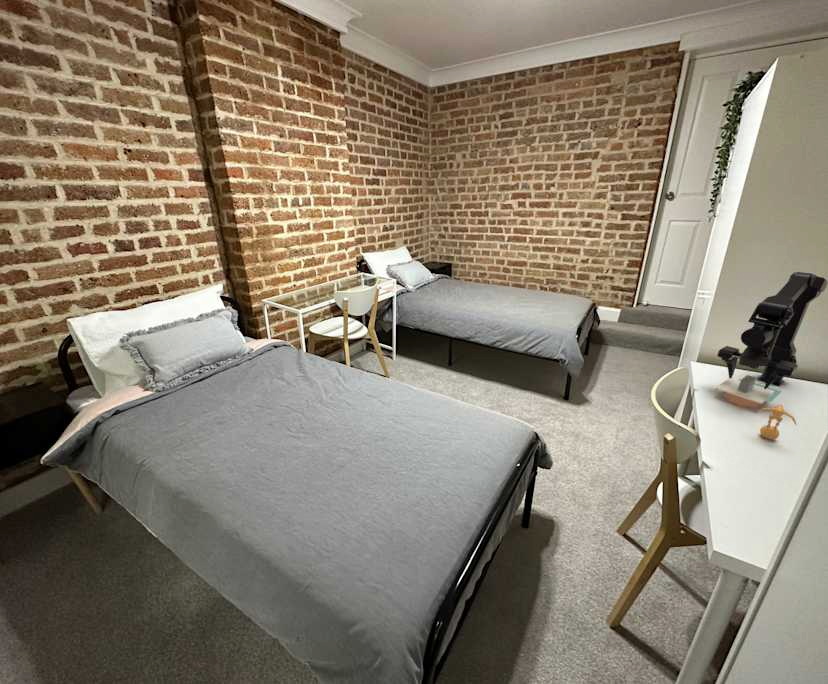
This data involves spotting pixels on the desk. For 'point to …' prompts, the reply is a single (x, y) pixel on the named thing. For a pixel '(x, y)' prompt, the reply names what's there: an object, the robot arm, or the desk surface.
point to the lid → (746, 389)
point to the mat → (776, 392)
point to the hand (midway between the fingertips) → (747, 383)
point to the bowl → (740, 400)
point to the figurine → (772, 431)
